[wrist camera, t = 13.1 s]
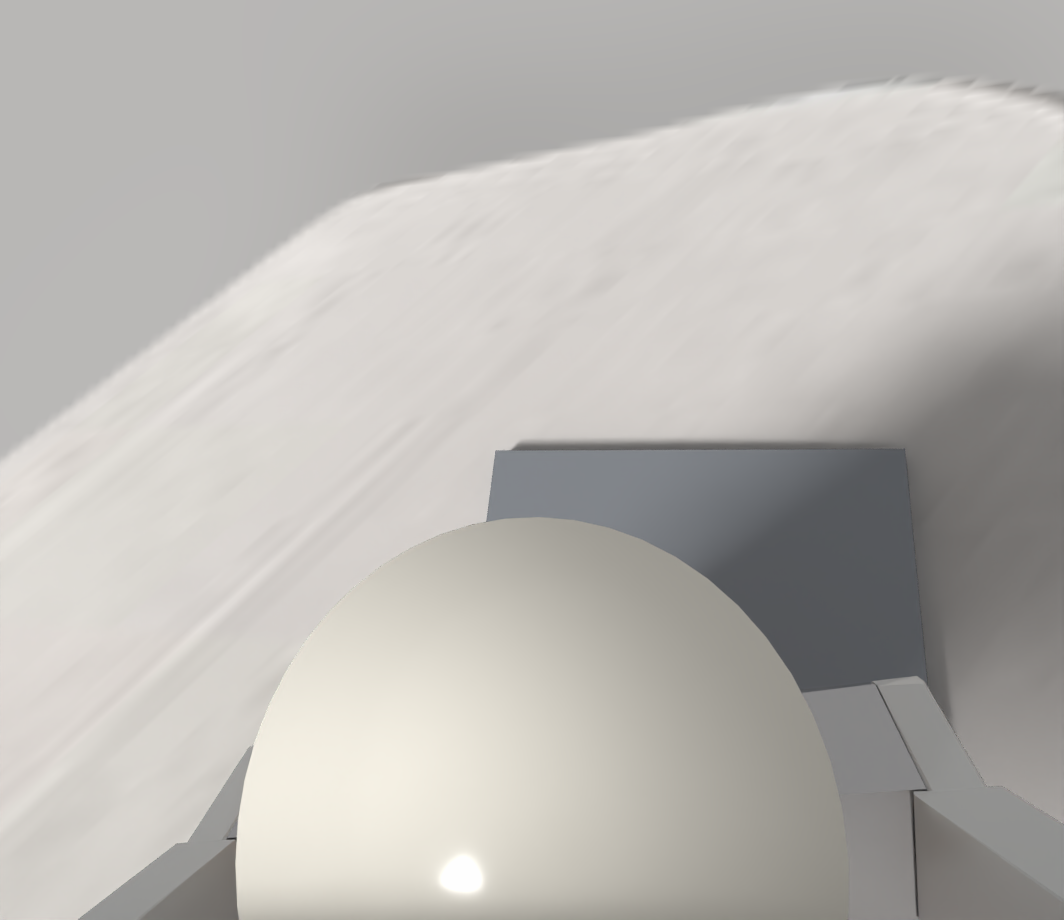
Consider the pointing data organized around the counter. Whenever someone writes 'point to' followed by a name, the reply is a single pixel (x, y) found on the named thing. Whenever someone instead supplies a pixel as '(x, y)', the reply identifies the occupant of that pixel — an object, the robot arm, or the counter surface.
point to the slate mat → (759, 539)
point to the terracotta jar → (539, 747)
